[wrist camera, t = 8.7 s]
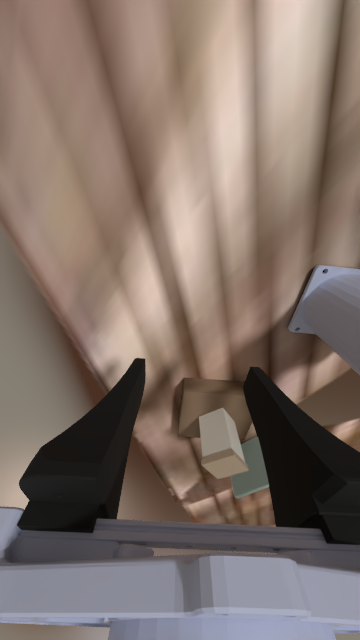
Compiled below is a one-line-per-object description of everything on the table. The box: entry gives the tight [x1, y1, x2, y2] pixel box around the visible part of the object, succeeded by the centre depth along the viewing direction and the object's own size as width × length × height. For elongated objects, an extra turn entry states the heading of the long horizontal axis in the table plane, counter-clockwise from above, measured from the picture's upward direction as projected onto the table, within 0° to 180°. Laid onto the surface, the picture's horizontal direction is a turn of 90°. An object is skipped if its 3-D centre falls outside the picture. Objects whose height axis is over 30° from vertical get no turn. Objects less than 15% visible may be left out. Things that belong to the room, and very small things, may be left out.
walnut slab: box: [178, 378, 252, 440], centre depth 30 cm, size 11×11×3 cm
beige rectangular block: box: [199, 408, 249, 479], centre depth 26 cm, size 4×4×6 cm
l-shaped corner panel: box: [231, 436, 269, 498], centre depth 35 cm, size 12×12×8 cm
